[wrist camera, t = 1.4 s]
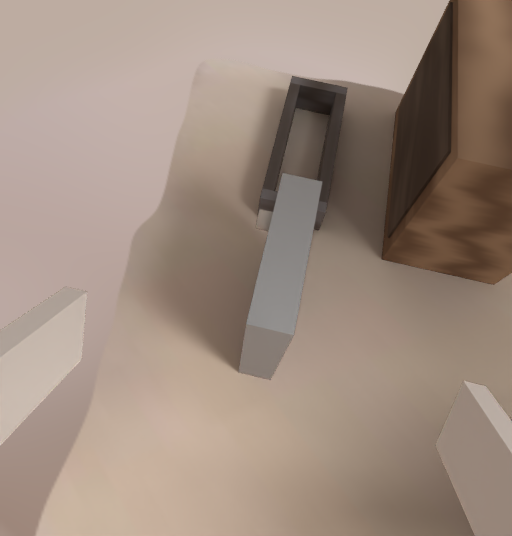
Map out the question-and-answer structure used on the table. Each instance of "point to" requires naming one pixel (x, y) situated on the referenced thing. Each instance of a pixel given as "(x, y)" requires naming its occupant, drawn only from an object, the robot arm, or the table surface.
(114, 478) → the table surface
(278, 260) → the door
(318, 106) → the cabinet
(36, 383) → the robot arm
